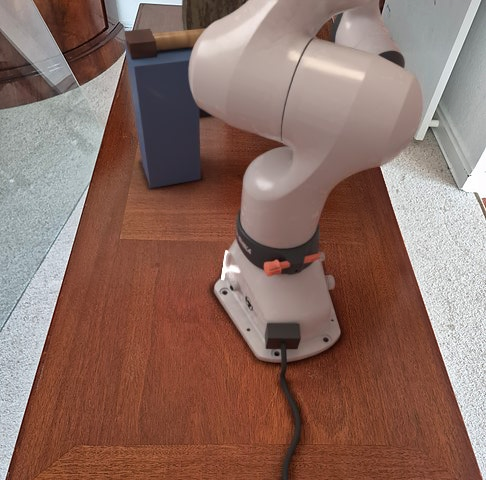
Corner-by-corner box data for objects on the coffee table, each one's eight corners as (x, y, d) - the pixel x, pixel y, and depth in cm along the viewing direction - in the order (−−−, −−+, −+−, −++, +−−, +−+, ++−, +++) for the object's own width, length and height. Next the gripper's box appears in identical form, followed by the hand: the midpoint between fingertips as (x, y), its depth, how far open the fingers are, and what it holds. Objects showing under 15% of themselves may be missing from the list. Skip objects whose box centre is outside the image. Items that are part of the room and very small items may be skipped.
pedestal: (200, 179, 91) (198, 59, 71) (150, 188, 88) (134, 66, 69) (190, 154, 95) (185, 34, 76) (141, 162, 93) (124, 40, 73)
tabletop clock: (239, 48, 122) (245, -66, 102) (240, 66, 117) (247, -50, 97) (184, 46, 121) (180, -70, 101) (183, 64, 116) (178, -54, 96)
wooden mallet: (235, 35, 76) (235, 20, 75) (242, 47, 74) (243, 31, 72) (126, 46, 72) (124, 30, 70) (131, 59, 70) (129, 43, 68)
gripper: (299, 41, 90) (244, 8, 82) (346, 98, 79) (287, 67, 71) (281, 70, 94) (226, 41, 85) (323, 129, 83) (265, 102, 74)
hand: (254, 53), depth 78 cm, fingers open, 8 cm apart
